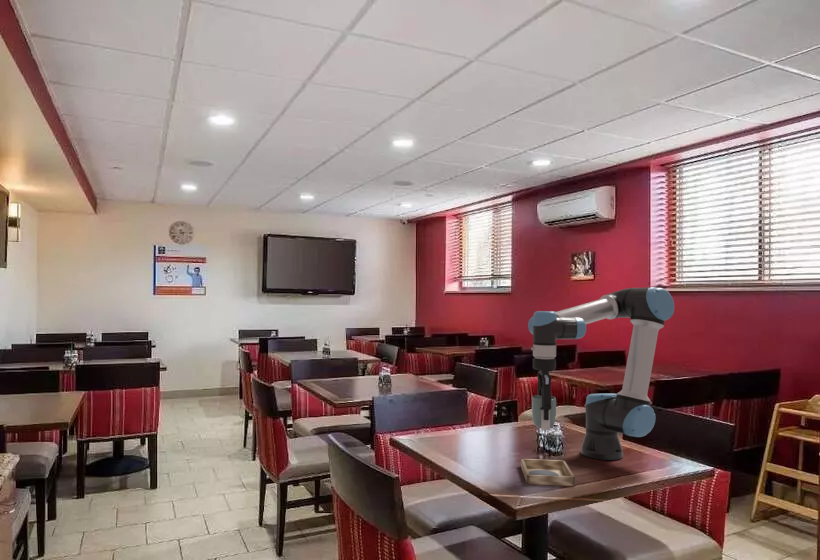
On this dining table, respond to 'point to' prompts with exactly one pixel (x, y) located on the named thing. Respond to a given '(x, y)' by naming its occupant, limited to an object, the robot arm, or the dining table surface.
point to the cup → (537, 412)
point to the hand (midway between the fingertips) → (543, 426)
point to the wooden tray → (549, 465)
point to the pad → (543, 473)
